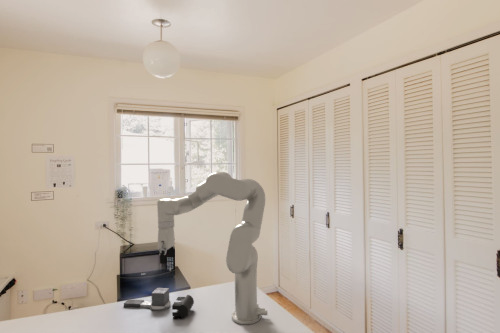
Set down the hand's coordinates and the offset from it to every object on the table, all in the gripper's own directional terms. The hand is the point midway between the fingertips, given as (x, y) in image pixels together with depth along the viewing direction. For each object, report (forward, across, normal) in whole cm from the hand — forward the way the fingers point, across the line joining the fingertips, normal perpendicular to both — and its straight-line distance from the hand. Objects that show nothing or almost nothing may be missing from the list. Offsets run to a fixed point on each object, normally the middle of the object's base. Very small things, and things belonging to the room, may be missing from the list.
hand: (167, 260), depth 143 cm
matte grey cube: (+20, +2, -3) cm, 20 cm away
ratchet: (+21, +2, -10) cm, 23 cm away
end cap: (+22, +9, +10) cm, 26 cm away
